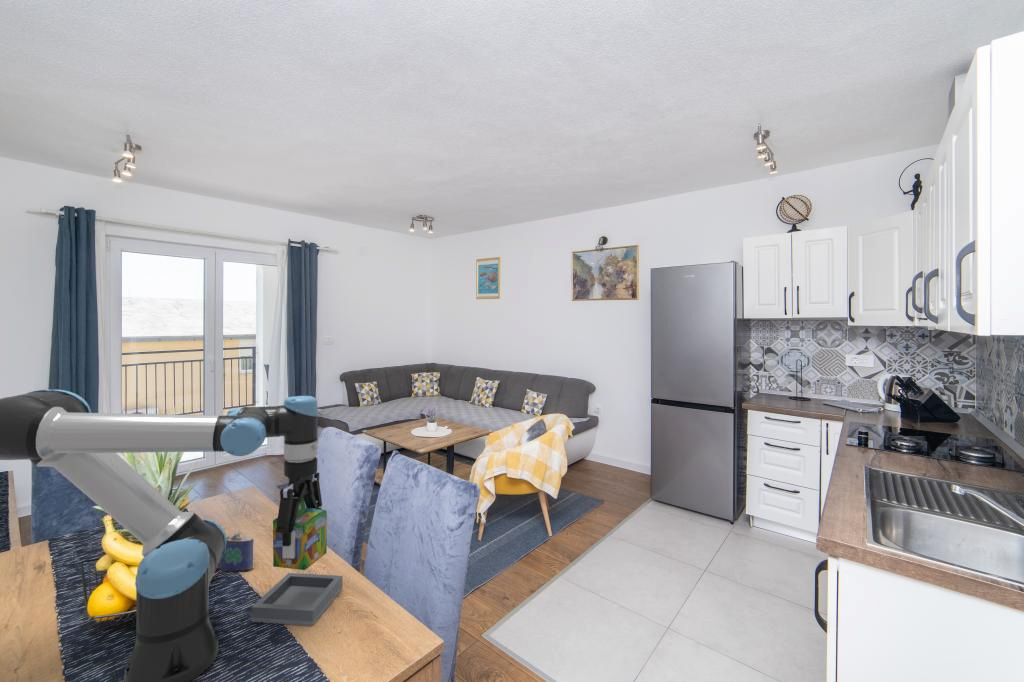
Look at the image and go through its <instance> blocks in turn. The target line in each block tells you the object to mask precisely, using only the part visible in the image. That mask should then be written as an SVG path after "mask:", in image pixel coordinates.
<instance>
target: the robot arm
mask: <svg viewBox="0 0 1024 682" xmlns="http://www.w3.org/2000/svg"><path fill="white" fill-rule="evenodd" d="M318 418H319V414H318V400H317V398H315V397H314V396H311V395H297V396H289V397H286V398H285V399H284V402H283V404H281V405H275V406H271V405H270V406H250V407H249V406H243V407H233V408H230V409H229V410H228V411H227V414H226V415H220V414H218V415H217V414H215V415H214V414H164V413H163V414H162V413H159V414H158V413H111V412H109V413H108V412H92V410H91V407H90V405H89V404H88V402H87V401H86V400H85V399H84V398H83V397H81V396H80V395H79V394H77V393H75V392H72V391H68V390H64V389H38V390H33V391H29V392H26V393H24V394H17V395H13V396H8V397H7V396H6V397H2V398H0V461H18V460H19V461H21V460H22V461H23V460H29V461H30V462H31V463H33V464H34V465H35V466H37V467H40V468H41V467H43V468H44V467H51V468H54V469H55V470H56V471H57V472H58V473H60V474H61V475H62V476H63V477H64V478H66V479H67V480H68V481H69V482H70V483H72V484H73V486H75V487H76V489H78V490H80V491H81V492H82V493H83V494H84V495H86V496H87V498H89V499H90V500H91V501H93V503H95V504H96V505H97V506H98V507H99V508H101V510H103V511H104V512H105V513H107V514H108V515H109V516H110V517H111V518H112V519H114V520H115V521H116V522H117V523H118V524H119V525H121V526H122V527H123V528H124V529H125V530H127V531H128V532H129V533H130V534H131V535H132V536H133V537H135V538H136V539H137V540H138V541H139V542H140V543H142V551H141V555H142V557H143V558H142V559H141V560H140V562H139V564H138V566H137V571H136V575H135V582H134V583H135V584H134V585H135V590H136V591H135V592H136V593H135V594H136V599H135V601H136V607H135V608H136V612H135V613H136V619H135V620H136V624H135V625H136V626H135V627H136V629H135V630H136V632H135V633H136V636H135V637H136V639H135V643H134V645H133V648H132V651H131V653H130V655H129V659H128V662H127V664H126V667H125V669H124V674H123V675H124V676H123V677H124V680H123V681H124V682H189V681H190V682H191V680H192V681H193V680H195V679H196V677H197V678H198V677H200V676H201V675H202V674H204V671H205V670H206V669H207V670H208V669H209V668H210V667H211V666H212V665H213V664H214V663H215V661H216V659H217V658H216V657H218V655H217V654H219V639H218V636H217V634H216V633H215V631H214V628H213V625H212V623H211V619H210V617H209V599H210V598H209V595H210V592H209V588H210V583H211V580H212V579H213V576H214V574H215V573H216V571H217V569H218V567H219V565H220V564H221V560H222V558H223V556H224V553H225V549H226V543H227V538H226V537H227V533H226V532H225V529H224V528H223V527H222V525H221V524H219V522H217V521H215V520H212V519H207V518H206V519H204V518H201V517H200V516H199V515H198V514H197V513H196V512H194V511H193V510H192V511H182V510H180V508H178V507H177V506H176V505H174V504H173V503H172V502H171V501H170V500H169V499H168V498H167V497H165V495H164V494H162V493H161V492H160V491H159V490H158V489H157V488H156V487H155V486H154V485H152V484H151V483H150V482H149V481H148V480H147V479H145V478H144V476H143V475H141V474H140V472H138V471H137V470H136V469H135V468H133V467H132V466H131V465H130V464H129V463H128V462H127V461H126V460H125V459H124V458H122V457H121V455H119V453H123V454H124V453H126V454H127V453H197V452H198V453H199V452H200V453H202V452H203V453H209V452H211V453H212V452H215V453H216V452H217V453H221V452H222V453H224V452H225V453H228V454H229V455H231V456H234V457H246V456H249V455H251V454H252V453H254V452H255V451H257V450H258V449H260V447H261V446H262V445H263V443H264V442H265V440H266V438H280V437H283V439H284V441H283V443H284V445H283V459H284V460H285V461H283V474H284V477H286V478H288V484H287V487H285V488H281V489H280V491H279V495H280V496H279V497H280V498H279V499H280V500H279V501H280V502H279V507H278V513H277V514H278V516H277V518H278V519H277V526H276V533H282V544H283V558H292V559H294V558H295V530H293V528H294V524H295V520H296V516H297V512H298V508H299V507H300V505H299V504H300V502H302V500H304V503H305V507H306V508H315V509H320V510H323V509H322V506H323V501H322V500H323V499H322V493H321V485H320V472H318V458H317V456H318V449H319V445H318V427H319V426H318V425H319V424H318V422H319V419H318ZM214 660H215V661H214ZM212 663H213V664H212ZM211 664H212V665H211ZM207 670H206V671H207ZM206 671H205V672H206ZM201 673H202V674H201ZM200 674H201V675H200Z"/></svg>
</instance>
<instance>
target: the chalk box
mask: <svg viewBox="0 0 1024 682" xmlns="http://www.w3.org/2000/svg"><path fill="white" fill-rule="evenodd" d="M300 506H301V507H300ZM327 511H328V510H326V509H321V510H320V509H315V508H306V505H305V502H304V499H303V500H302V502H300V504H299V508H298V512H297V516H296V520H295V524H294V528H293V530H295V558H294V559H292V558H283V544H282V533H276V526H277V519H278V517H276V518H275V519H273V520H272V544H273V545H272V548H273V549H272V551H273V552H272V553H273V554H272V556H273V557H272V559H273V561H272V566H273V567H274V568H282V569H284V568H285V569H289V570H290V569H292V570H301V571H306V570H307V569H308V568H310V567H311V566H312V565H314V564H315V563H316V562H317V561H318V560H320V559H322V557H323V556H325V555H326V554H327V543H328V542H327V539H328V538H327V536H328V535H327V518H328V517H327Z"/></svg>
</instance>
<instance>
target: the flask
mask: <svg viewBox="0 0 1024 682" xmlns="http://www.w3.org/2000/svg"><path fill="white" fill-rule="evenodd" d="M232 535H233V536H232ZM232 535H230V534H229V535H226V538H227V543H226V549H225V553H224V556H223V558H222V560H221V561H220V569H221V570H222V571H221V570H220V571H221V572H226V571H229V572H228V573H232V572H235V573H242V572H243V573H245V572H246V573H247V572H250V571H252V570H253V569H254V538H253V536H249V537H247V536H246V537H241V536H240V535H241V531H238V532H234V533H232Z"/></svg>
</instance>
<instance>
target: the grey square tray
mask: <svg viewBox="0 0 1024 682" xmlns="http://www.w3.org/2000/svg"><path fill="white" fill-rule="evenodd" d="M342 590H343V575H332V574H318V573H317V574H313V573H300V572H299V573H298V572H297V573H295V572H294V573H293V572H288V573H286V575H284V576H283V577H282V578H281V580H279V581H278V582H277V583H276V584H275V585H274V586H273V587H272V588H271V589H269V591H267V592H266V593H265V594H264V595H263V596H261V598H260V599H259V600H257V601H256V602H255V603H254V605H252V606H251V614H250V615H251V620H250V622H251V621H252V622H251V623H261V622H263V624H277V623H278V624H279V625H281V624H282V625H292V626H293V625H295V626H297V625H298V626H311V627H312V626H314V625H315V624H316V622H317V621H318V620H319V619H320V618H321V616H322V615H323V614H324V613H325V612H326V610H327V609H328V607H330V605H331V604H332V602H333V601H334V600H335V599H336V598H337V597H338V595H339V594H340V592H341V591H342ZM338 593H339V594H338ZM334 598H335V599H334Z"/></svg>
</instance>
